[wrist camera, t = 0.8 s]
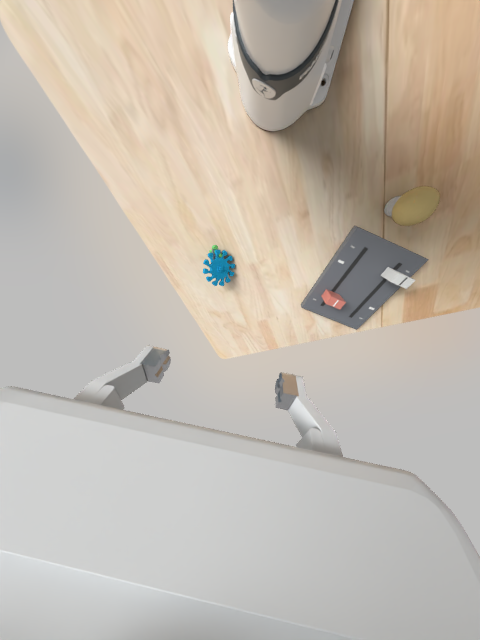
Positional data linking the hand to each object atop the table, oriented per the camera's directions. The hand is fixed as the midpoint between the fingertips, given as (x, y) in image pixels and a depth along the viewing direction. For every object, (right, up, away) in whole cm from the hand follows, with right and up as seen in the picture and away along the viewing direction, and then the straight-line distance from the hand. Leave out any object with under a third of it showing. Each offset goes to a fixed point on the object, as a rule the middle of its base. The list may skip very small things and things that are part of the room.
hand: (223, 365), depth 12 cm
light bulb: (+36, +29, +26) cm, 53 cm away
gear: (-4, +21, +39) cm, 44 cm away
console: (+34, +14, +37) cm, 52 cm away
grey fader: (+41, +15, +32) cm, 54 cm away
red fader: (+28, +11, +37) cm, 48 cm away
